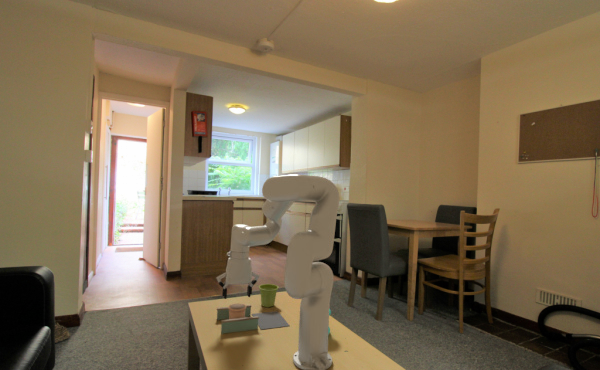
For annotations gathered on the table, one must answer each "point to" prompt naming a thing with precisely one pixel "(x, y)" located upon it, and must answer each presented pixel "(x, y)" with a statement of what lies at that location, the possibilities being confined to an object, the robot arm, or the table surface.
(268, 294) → the plant pot
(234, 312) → the seedling pot
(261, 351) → the table surface
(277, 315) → the mat
